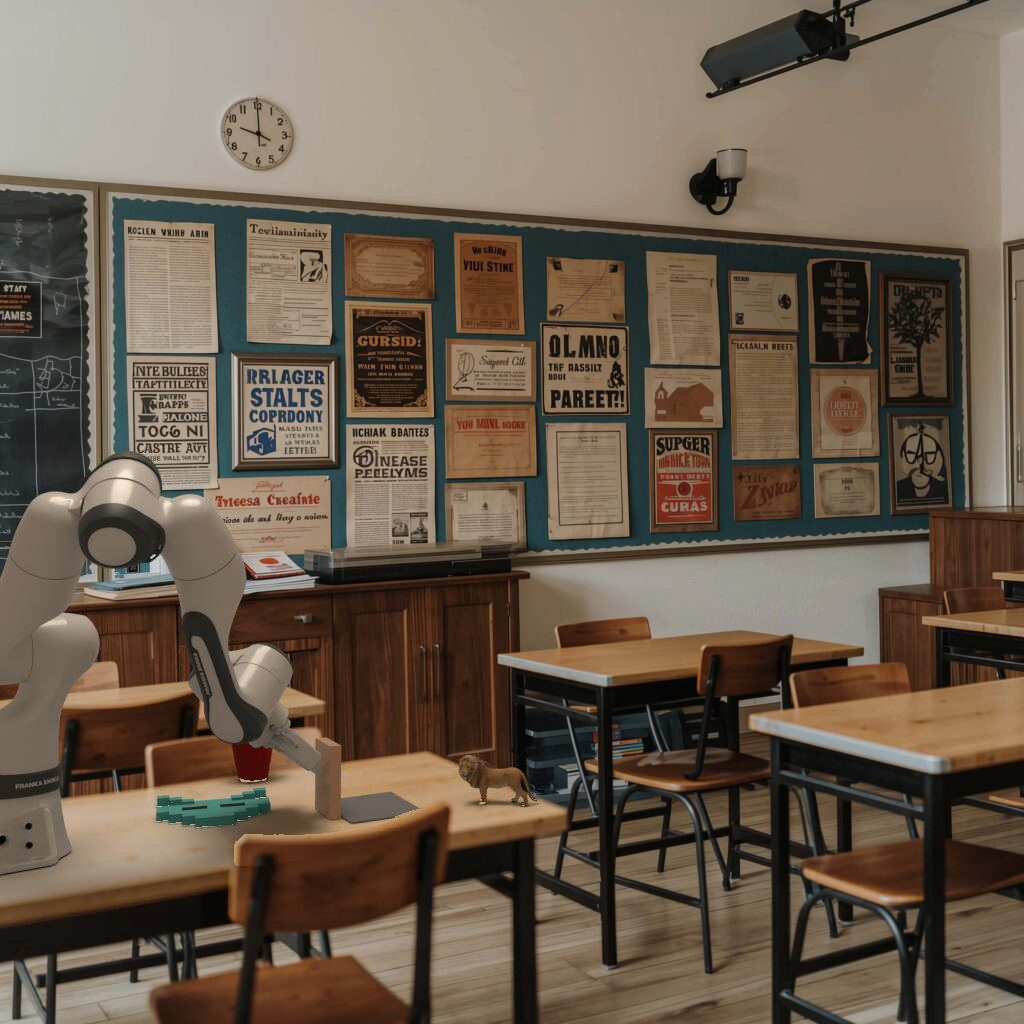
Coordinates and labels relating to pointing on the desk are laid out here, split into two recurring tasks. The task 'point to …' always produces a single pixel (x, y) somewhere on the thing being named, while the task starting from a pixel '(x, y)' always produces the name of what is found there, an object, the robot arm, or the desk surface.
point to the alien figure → (213, 809)
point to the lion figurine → (492, 778)
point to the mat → (374, 807)
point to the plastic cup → (252, 761)
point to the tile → (328, 779)
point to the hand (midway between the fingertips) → (319, 771)
